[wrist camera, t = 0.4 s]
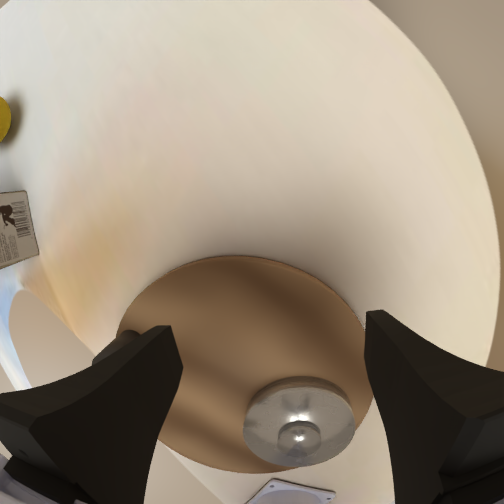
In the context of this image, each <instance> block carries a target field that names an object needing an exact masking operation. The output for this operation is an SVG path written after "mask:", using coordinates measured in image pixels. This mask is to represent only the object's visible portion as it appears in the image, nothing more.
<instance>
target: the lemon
mask: <svg viewBox="0 0 504 504" xmlns="http://www.w3.org/2000/svg"><path fill="white" fill-rule="evenodd" d="M10 125H11V112H10V108H9V106H8V104H7V102H6V101H5V100H4V99H3V98H2V97H0V142H1V141H2V140H3V139H4V137H5V136H6V134H7V132H8V130H9V127H10Z"/></svg>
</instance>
